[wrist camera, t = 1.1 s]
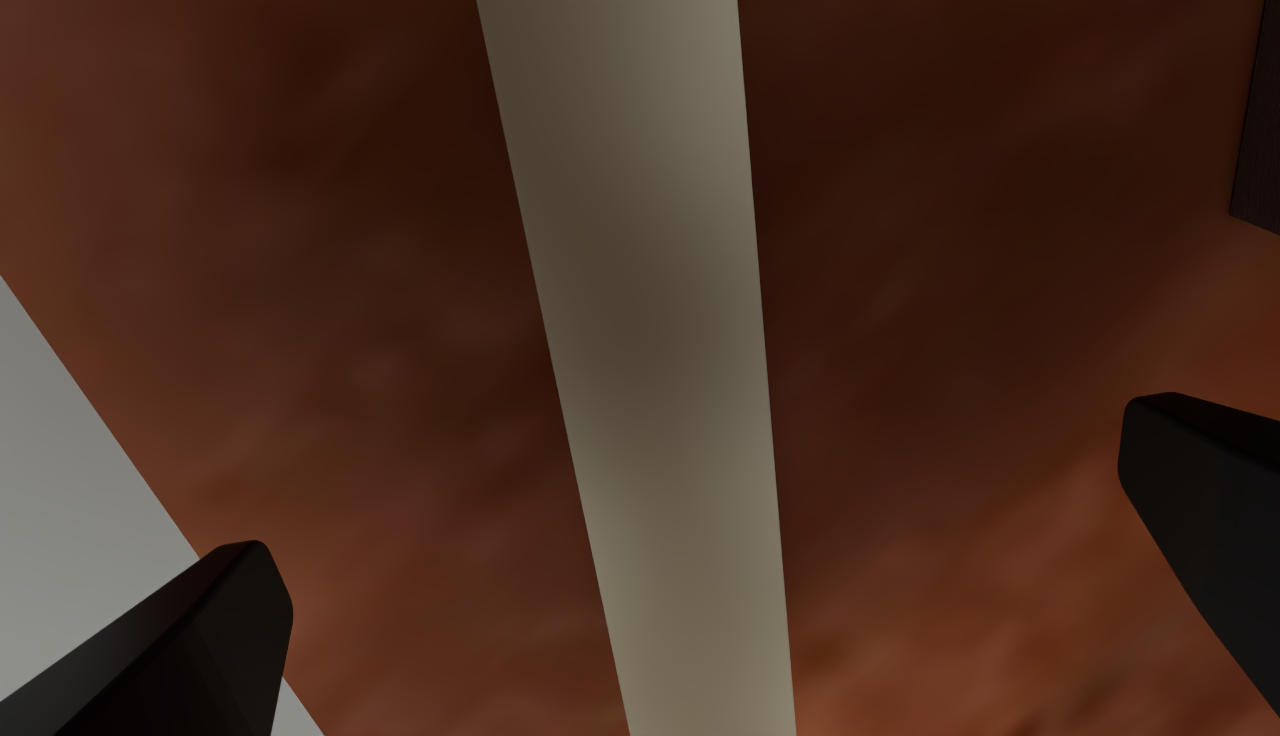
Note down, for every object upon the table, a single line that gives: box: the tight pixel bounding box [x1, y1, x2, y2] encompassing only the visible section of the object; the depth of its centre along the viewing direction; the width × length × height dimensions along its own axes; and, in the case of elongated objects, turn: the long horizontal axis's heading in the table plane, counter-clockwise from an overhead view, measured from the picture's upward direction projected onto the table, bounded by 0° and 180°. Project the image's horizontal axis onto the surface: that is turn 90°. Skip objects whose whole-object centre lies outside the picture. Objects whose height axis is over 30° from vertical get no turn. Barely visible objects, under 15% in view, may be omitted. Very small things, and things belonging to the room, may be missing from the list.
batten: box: [476, 0, 796, 736], centre depth 13 cm, size 3×18×5 cm, turn 8°
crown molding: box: [0, 276, 324, 736], centre depth 18 cm, size 31×12×4 cm, turn 17°
